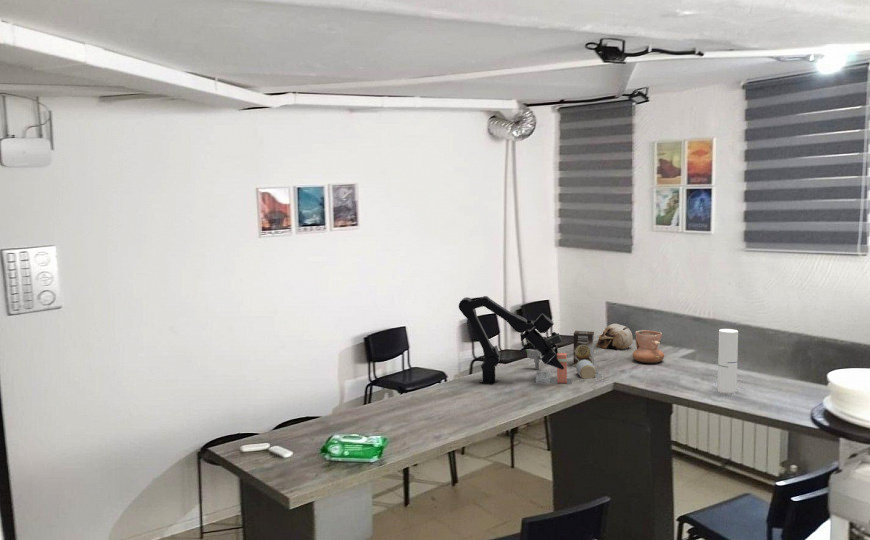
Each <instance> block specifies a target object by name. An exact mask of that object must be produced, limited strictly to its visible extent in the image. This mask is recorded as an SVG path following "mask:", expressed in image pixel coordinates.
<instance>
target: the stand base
mask: <svg viewBox="0 0 870 540" xmlns="http://www.w3.org/2000/svg"><path fill="white" fill-rule="evenodd" d="M551 374H552V372H551V371H549V372H548V371H536V373H535V377H534V380H533V384H545V385H547V384H548V385H549V384H550V385H572V379H573V378H567V383H557V378H552V377H551Z"/></svg>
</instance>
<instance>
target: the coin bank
mask: <svg viewBox="0 0 870 540" xmlns="http://www.w3.org/2000/svg"><path fill="white" fill-rule="evenodd" d="M633 340H634V337H633V334H632V331H631V330H630V328H629V327H627V326H626V325H622V324H619V323H611V324H609V325H608V326H607V327H606V328H604V330H603V332H602V334H600V335H599V336H598V341H597V342H596V343H595V347H597V348H601V349H614V350H619V351H620V350H622V349H624V350H627V349H629V347H630V346H632V345H633V342H634V341H633ZM626 348H627V349H626ZM622 351H623V350H622Z"/></svg>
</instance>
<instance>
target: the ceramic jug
mask: <svg viewBox="0 0 870 540" xmlns="http://www.w3.org/2000/svg"><path fill="white" fill-rule="evenodd" d="M662 336H663V333H662V332H661V331H656V330H647V329H640V330H636V331H635V347H636V349H635V350H634V351H633V352H632V357H633V359H634V360H635V361H637V362H640V363H643V364H656V363H659V362H661V361H663V360H664V359H665V354H664V352H663V351H662V350H660V349H659V348H658V347H659V345H660V344H661V340H662Z"/></svg>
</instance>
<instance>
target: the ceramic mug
mask: <svg viewBox="0 0 870 540" xmlns="http://www.w3.org/2000/svg"><path fill="white" fill-rule="evenodd" d="M575 370H576V373H577V374H578V375H579V377H580V378H581V379H594V378H601V377H603V375H602V374H601V373H599V371H596V368H595V365H592V363H591V362H590V361H588V360H581V361H579V362H578V364H577V366H576V367H575Z"/></svg>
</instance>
